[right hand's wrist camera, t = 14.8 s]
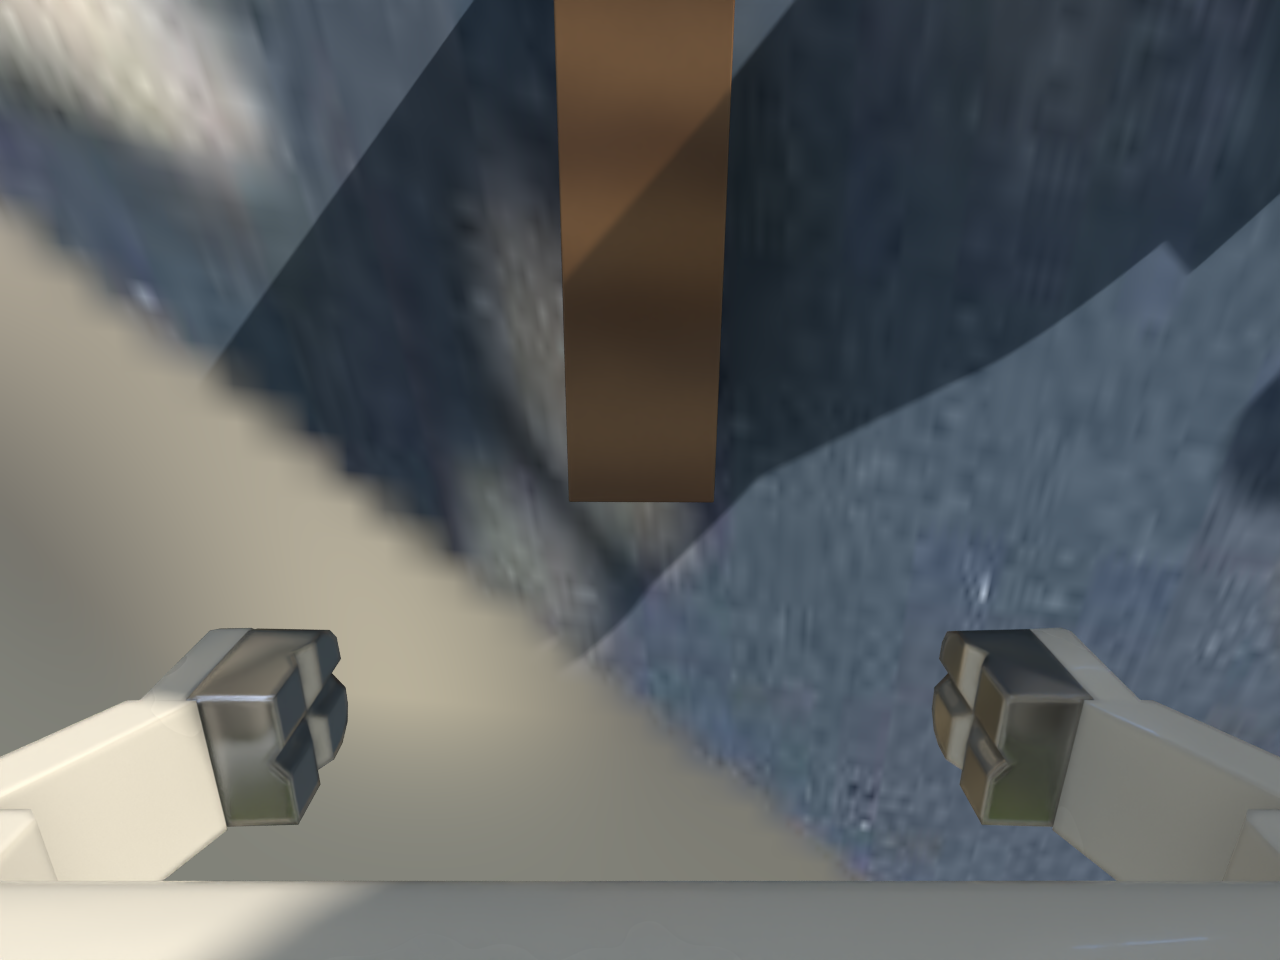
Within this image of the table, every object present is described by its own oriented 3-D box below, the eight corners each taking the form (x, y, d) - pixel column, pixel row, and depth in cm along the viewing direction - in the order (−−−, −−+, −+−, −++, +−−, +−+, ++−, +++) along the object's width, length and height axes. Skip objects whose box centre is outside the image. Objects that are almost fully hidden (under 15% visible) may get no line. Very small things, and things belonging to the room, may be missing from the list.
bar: (696, 431, 36) (713, 502, 28) (585, 430, 36) (568, 502, 28) (715, -141, 28) (746, -287, 20) (573, -142, 28) (544, -287, 20)
